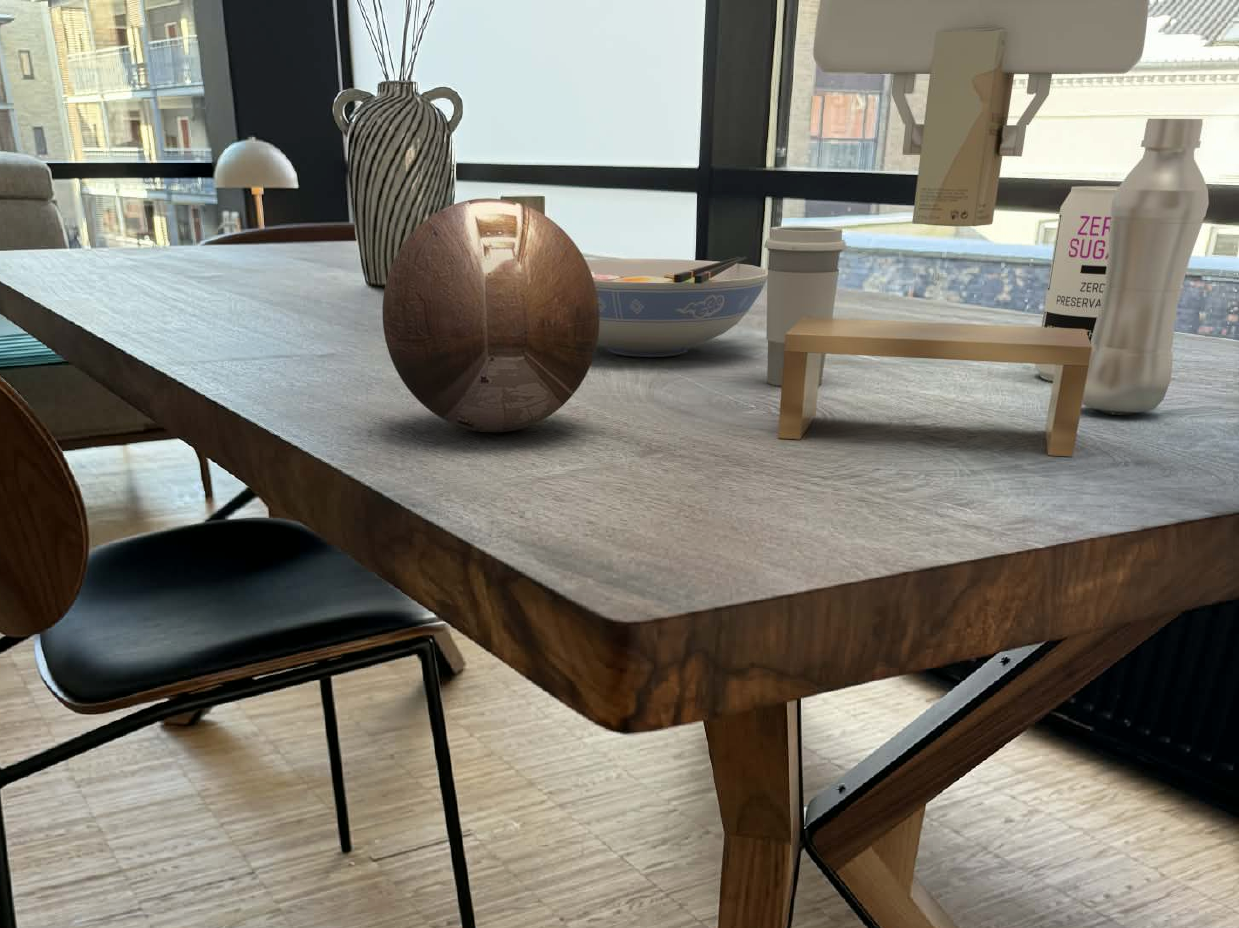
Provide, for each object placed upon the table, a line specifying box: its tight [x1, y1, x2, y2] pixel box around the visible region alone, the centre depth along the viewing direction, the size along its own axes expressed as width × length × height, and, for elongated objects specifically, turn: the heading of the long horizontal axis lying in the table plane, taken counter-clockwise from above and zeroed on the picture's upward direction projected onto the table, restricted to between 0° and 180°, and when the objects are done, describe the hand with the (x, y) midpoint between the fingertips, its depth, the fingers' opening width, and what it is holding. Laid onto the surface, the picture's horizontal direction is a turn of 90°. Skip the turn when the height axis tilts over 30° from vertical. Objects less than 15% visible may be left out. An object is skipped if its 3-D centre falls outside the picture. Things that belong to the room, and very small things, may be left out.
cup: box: [763, 225, 847, 387], centre depth 113 cm, size 7×7×12 cm
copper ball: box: [381, 197, 600, 434], centre depth 94 cm, size 15×15×15 cm
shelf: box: [777, 317, 1092, 458], centre depth 95 cm, size 20×9×7 cm, turn 75°
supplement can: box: [1034, 185, 1119, 382], centre depth 115 cm, size 8×8×15 cm
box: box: [911, 28, 1015, 227], centre depth 88 cm, size 5×4×11 cm
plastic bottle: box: [1082, 118, 1209, 415], centre depth 100 cm, size 6×7×20 cm
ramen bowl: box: [585, 256, 768, 358], centre depth 128 cm, size 25×23×8 cm
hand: (961, 155), depth 88 cm, fingers closed on box, 5 cm apart
